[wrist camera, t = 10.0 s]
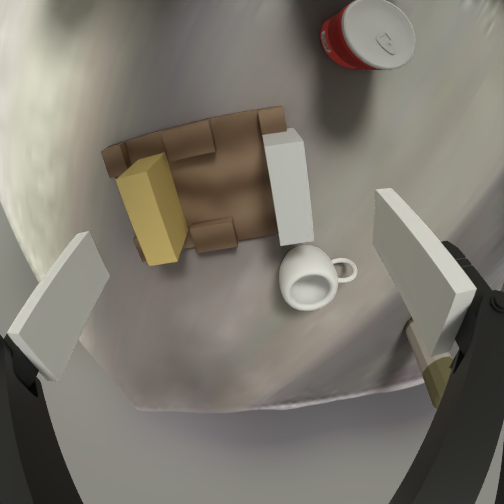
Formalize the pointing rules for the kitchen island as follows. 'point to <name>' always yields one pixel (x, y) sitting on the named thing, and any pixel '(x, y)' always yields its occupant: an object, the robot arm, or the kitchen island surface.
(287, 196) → the grey bar
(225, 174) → the comb rack
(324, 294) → the mug
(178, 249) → the ochre bar
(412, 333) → the bottle
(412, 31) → the canned food
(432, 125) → the kitchen island surface
